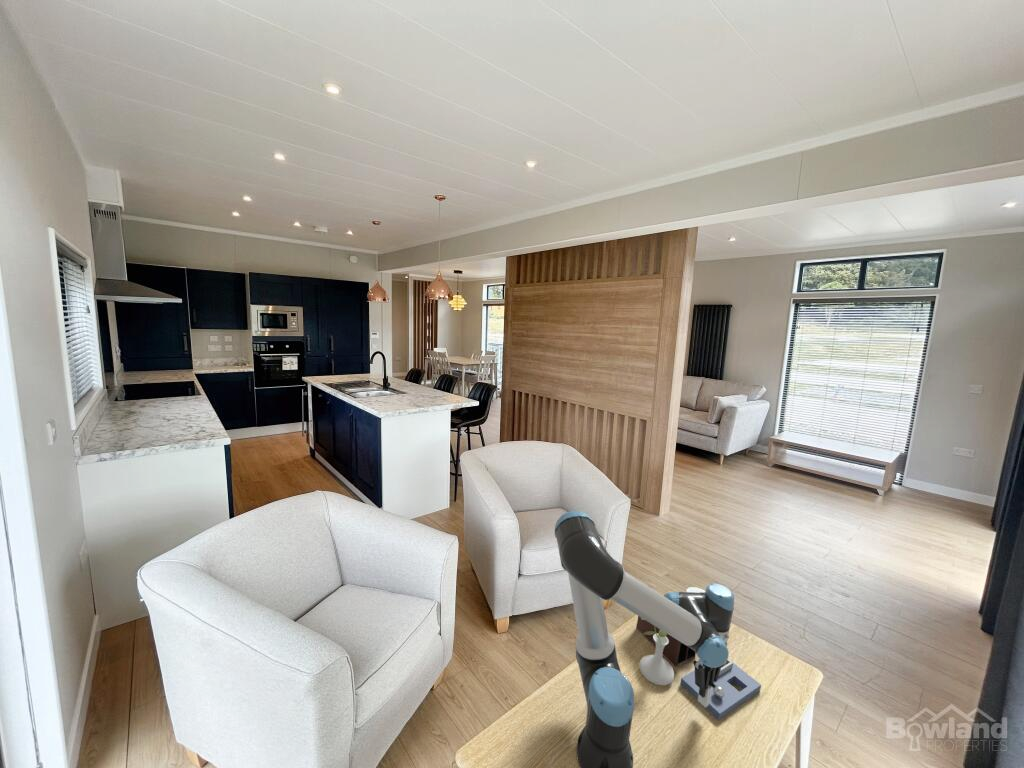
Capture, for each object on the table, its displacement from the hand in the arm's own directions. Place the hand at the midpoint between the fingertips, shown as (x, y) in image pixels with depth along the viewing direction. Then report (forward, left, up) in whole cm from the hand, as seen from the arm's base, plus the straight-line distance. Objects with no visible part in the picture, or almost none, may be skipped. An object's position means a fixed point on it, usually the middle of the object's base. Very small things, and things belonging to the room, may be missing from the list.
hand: (702, 702), depth 129 cm
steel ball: (+8, 0, 0) cm, 8 cm away
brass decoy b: (+20, +7, 0) cm, 21 cm away
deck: (+14, +3, -4) cm, 15 cm away
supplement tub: (+29, +25, -4) cm, 39 cm away
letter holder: (+13, +25, -5) cm, 28 cm away
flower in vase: (-2, +17, -4) cm, 18 cm away
